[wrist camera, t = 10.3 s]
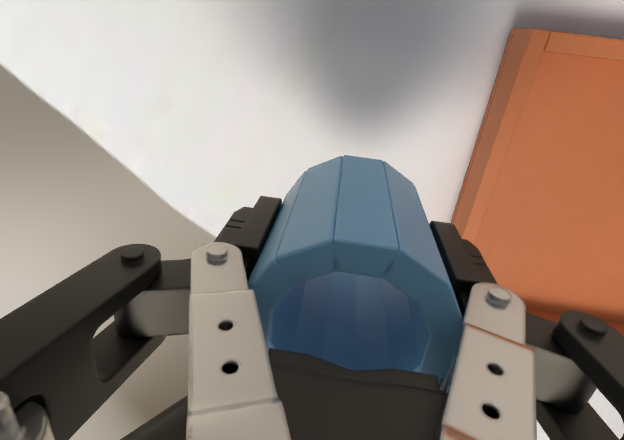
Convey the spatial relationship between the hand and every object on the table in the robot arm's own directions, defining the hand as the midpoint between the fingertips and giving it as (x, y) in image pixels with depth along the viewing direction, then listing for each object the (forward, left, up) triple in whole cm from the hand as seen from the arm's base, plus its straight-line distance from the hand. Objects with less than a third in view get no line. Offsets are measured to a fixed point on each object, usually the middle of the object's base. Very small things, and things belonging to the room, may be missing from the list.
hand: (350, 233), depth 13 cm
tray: (+15, -1, -10) cm, 18 cm away
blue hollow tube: (0, 0, -1) cm, 1 cm away
